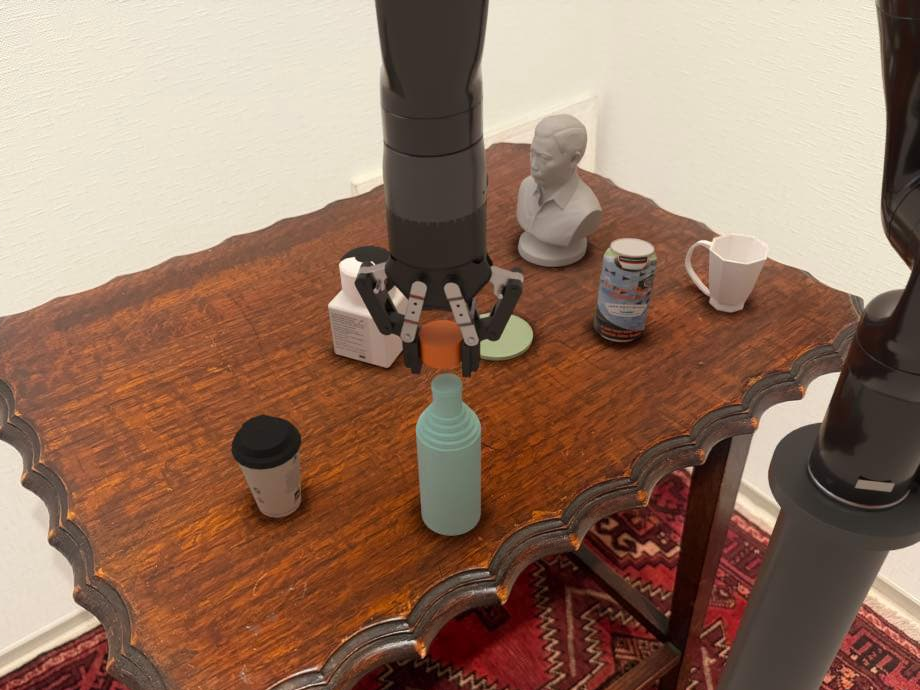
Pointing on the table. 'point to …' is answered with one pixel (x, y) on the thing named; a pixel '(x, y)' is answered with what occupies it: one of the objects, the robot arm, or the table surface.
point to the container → (362, 313)
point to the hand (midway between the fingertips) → (442, 369)
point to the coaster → (508, 341)
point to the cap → (441, 344)
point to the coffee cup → (270, 463)
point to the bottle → (449, 460)
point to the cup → (730, 269)
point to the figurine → (556, 196)
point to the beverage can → (625, 289)
